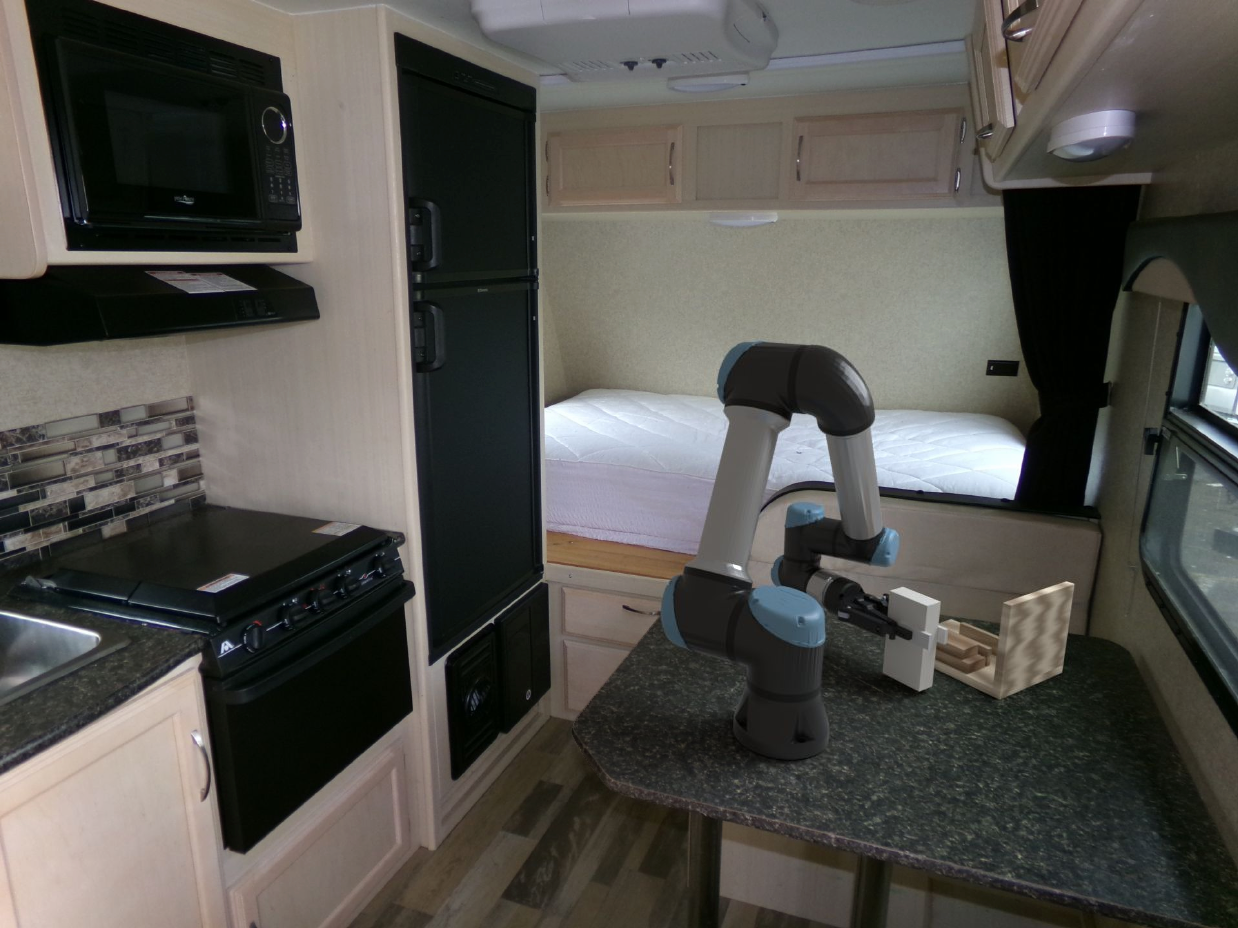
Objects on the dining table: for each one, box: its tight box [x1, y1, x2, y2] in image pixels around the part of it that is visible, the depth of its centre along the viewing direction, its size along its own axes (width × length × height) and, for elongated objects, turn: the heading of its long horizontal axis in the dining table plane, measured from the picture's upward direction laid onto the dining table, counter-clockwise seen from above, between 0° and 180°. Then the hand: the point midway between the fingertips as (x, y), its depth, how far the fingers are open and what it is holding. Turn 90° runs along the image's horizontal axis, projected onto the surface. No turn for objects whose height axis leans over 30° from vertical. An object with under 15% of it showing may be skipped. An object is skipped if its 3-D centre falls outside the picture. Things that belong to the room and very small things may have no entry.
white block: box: [882, 586, 942, 692], centre depth 146 cm, size 4×8×16 cm, turn 32°
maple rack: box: [934, 581, 1076, 700], centre depth 156 cm, size 19×24×18 cm
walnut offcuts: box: [935, 631, 986, 674], centre depth 154 cm, size 5×10×4 cm, turn 32°
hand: (938, 639), depth 141 cm, fingers closed on white block, 3 cm apart
